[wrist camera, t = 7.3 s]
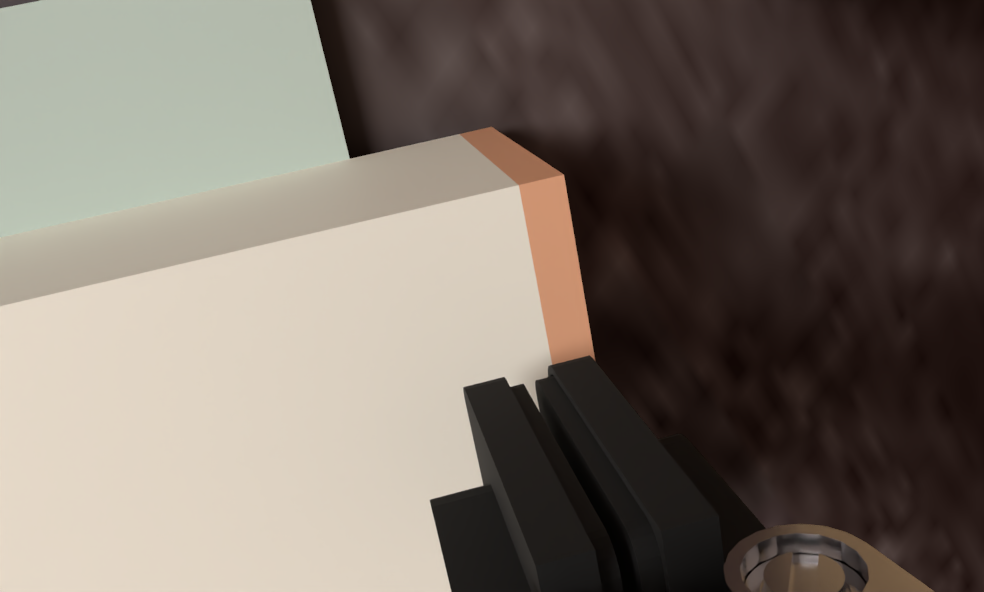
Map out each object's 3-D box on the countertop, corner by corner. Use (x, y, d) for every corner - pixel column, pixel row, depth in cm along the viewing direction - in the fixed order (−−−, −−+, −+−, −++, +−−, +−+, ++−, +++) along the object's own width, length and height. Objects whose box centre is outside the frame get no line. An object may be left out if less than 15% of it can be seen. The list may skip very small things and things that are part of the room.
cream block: (491, 126, 16) (-215, 285, 15) (564, 174, 12) (-456, 412, 10) (556, 464, 19) (-51, 629, 17) (639, 617, 14) (-186, 860, 13)
